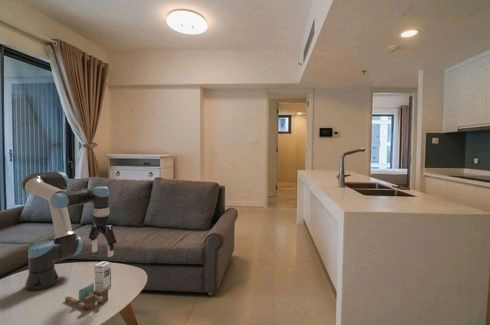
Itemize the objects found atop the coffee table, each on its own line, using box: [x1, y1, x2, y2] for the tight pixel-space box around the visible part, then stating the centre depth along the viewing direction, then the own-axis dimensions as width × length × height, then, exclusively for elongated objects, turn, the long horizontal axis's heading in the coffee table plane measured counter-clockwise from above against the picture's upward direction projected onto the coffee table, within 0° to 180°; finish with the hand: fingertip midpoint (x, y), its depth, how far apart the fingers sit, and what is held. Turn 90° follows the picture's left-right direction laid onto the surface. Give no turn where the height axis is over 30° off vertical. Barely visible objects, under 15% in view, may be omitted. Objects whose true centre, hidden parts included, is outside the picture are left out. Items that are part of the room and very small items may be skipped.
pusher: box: [78, 282, 103, 303], centre depth 134 cm, size 13×7×7 cm, turn 62°
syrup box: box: [93, 260, 112, 292], centre depth 148 cm, size 6×6×14 cm
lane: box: [64, 288, 109, 312], centre depth 137 cm, size 18×11×6 cm, turn 62°
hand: (102, 253), depth 147 cm, fingers open, 13 cm apart
